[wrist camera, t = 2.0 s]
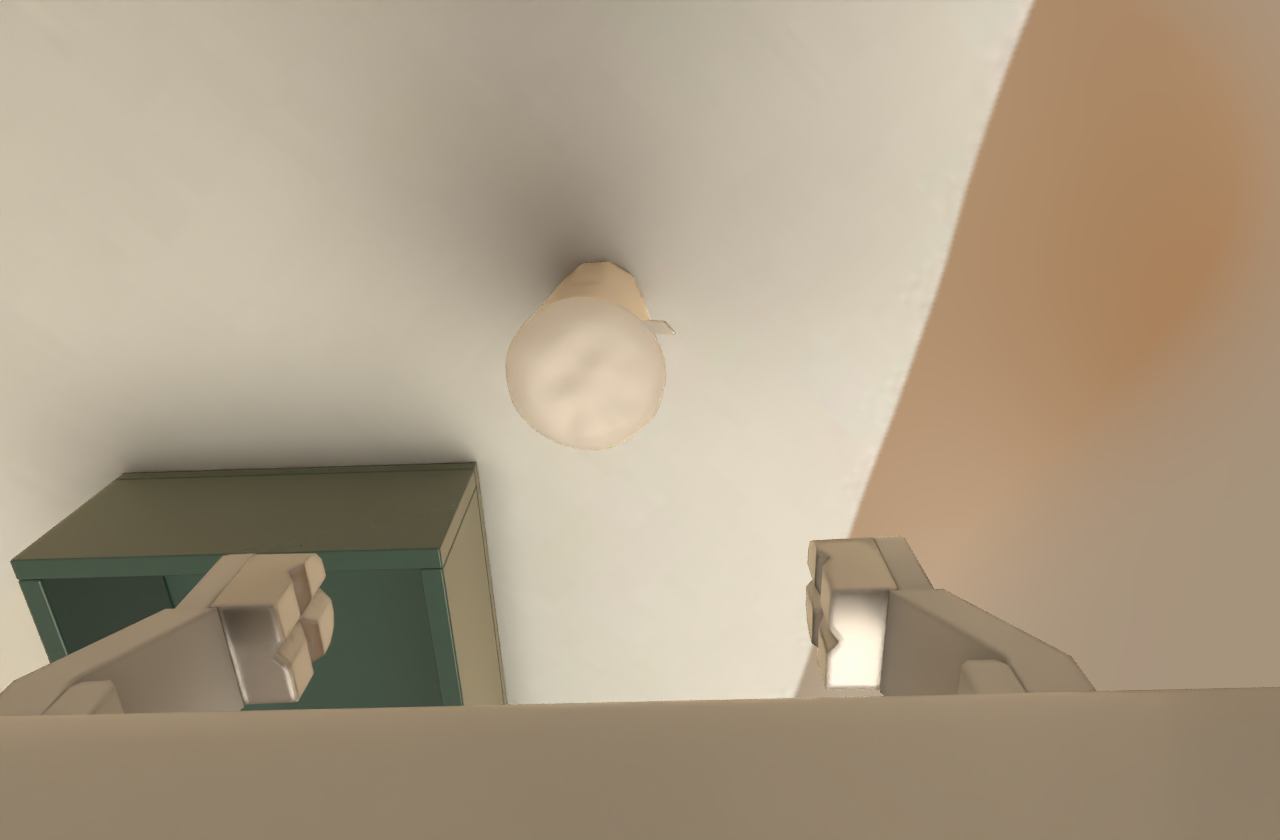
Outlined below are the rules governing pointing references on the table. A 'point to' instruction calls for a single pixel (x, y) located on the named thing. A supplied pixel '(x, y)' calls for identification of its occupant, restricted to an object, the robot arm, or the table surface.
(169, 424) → the table surface
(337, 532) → the open box
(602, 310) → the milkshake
